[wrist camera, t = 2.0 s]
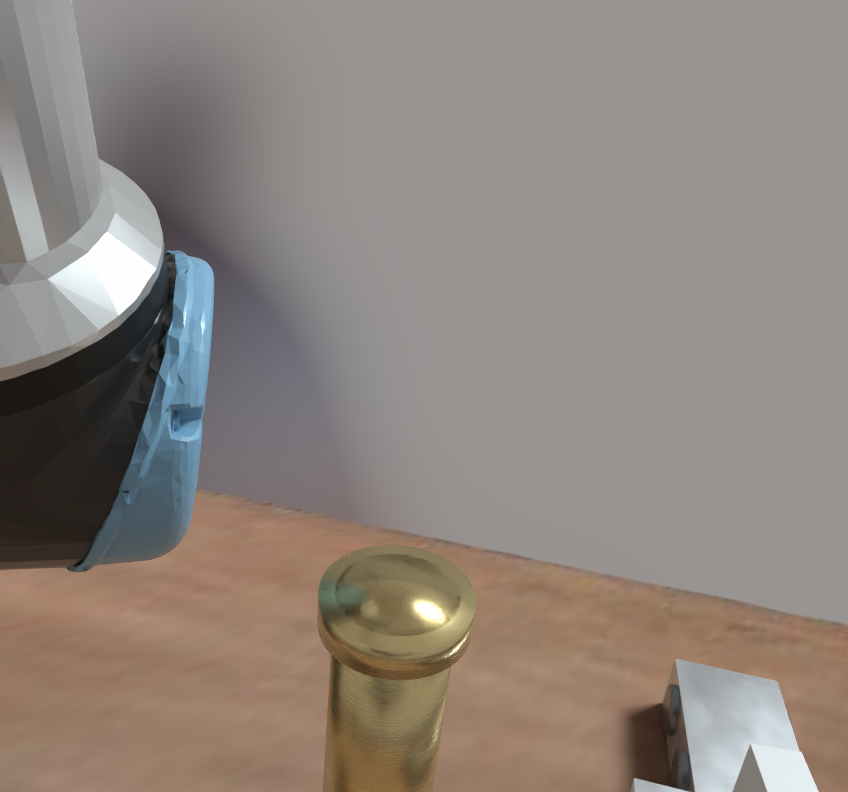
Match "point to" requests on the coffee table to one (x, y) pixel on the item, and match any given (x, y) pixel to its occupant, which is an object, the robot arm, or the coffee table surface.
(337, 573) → the pin
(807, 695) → the coffee table surface
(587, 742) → the coffee table surface
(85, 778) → the coffee table surface
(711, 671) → the grey link plate
